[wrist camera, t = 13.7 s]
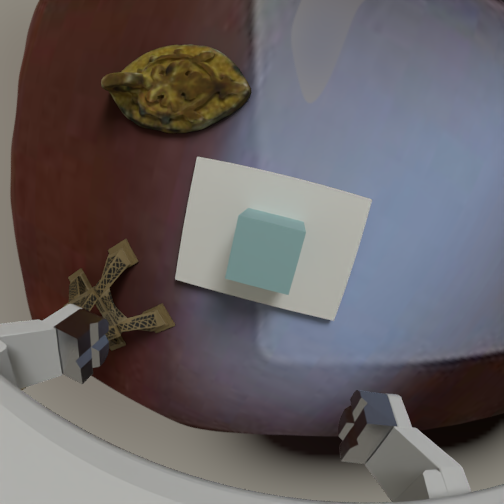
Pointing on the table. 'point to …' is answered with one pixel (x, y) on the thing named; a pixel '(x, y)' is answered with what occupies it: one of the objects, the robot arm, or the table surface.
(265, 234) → the cube
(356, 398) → the robot arm
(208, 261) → the board
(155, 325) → the eiffel tower
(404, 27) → the table surface
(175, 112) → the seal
